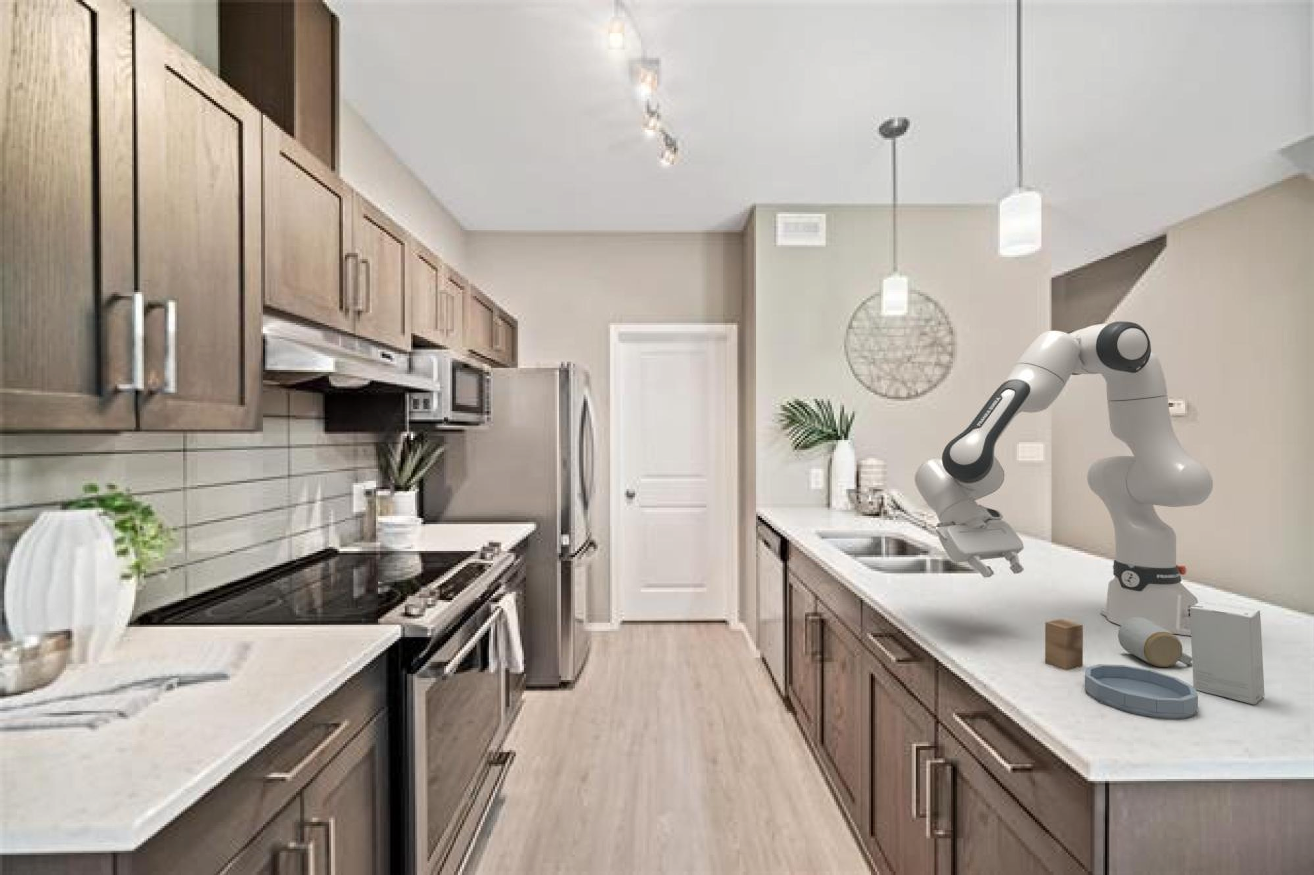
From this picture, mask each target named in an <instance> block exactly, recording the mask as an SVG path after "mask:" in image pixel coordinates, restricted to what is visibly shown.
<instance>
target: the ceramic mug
mask: <svg viewBox="0 0 1314 875" xmlns="http://www.w3.org/2000/svg"><path fill="white" fill-rule="evenodd" d="M1119 626H1120V627H1119V628H1118V631H1117V632H1118V633H1117V639H1118V642H1119V645H1120V646H1121V647H1122V649H1123V650H1125V651H1126V652H1128V653H1130V654H1131V655H1133V656H1135V657H1136V658H1139V659H1141V660H1142V661H1144V662H1146V663H1147V664H1149V665H1152V666H1155V667H1160V668H1168V667H1171V666H1173V665H1176V663H1177V662H1180V663H1183V664H1185V665H1188V666H1189V665H1191V664H1192V656H1190V655H1188V654H1187V653H1184V652H1183V646H1182V642H1181V641H1180V639H1179V638H1178V637H1177V636H1176V634H1173V633H1171V632H1170V631H1168V630H1166V629H1164V628H1162V627H1160V626H1159V625H1157V624H1155V623H1153V622H1152V621H1150V620H1148V619H1146V618H1142V617H1133V618H1130V619H1128V620H1126V621H1125V622H1124V623H1123V624H1122V625H1119Z"/></svg>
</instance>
